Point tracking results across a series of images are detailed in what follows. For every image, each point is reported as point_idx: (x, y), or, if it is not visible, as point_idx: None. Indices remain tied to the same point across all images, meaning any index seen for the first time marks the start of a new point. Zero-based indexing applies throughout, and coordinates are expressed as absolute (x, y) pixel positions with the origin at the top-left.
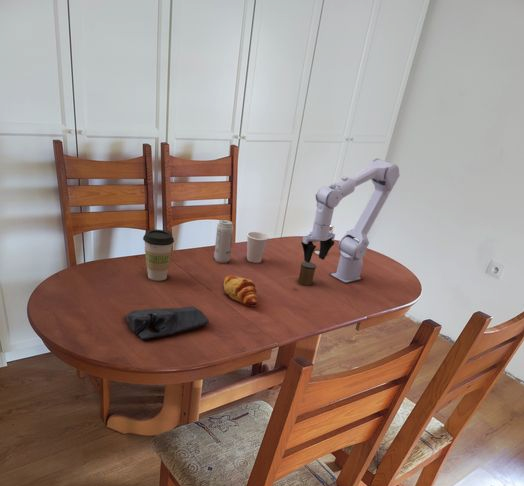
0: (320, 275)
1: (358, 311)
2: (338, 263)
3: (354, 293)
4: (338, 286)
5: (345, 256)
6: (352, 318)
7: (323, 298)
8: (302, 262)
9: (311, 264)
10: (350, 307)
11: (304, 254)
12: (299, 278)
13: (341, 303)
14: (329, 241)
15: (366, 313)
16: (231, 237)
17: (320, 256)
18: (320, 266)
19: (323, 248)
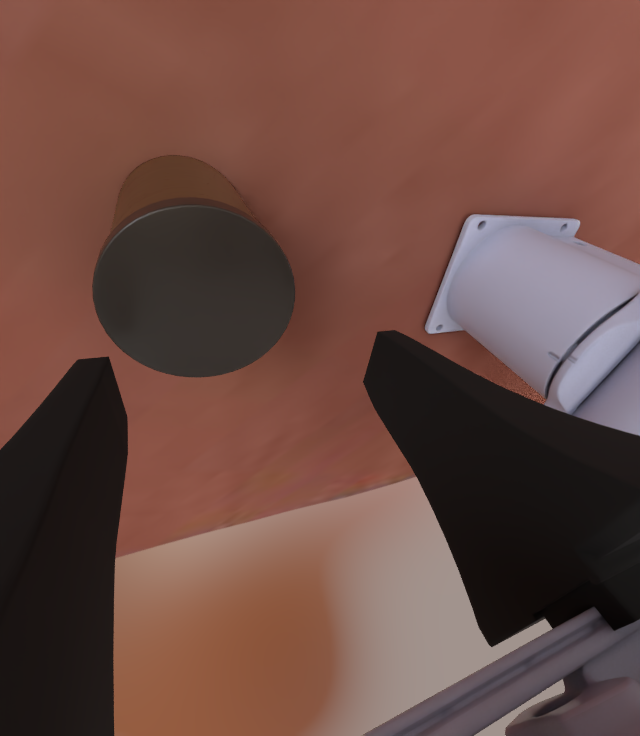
0: (411, 180)
1: (232, 509)
2: (549, 267)
3: (355, 411)
4: (358, 345)
5: (568, 374)
6: (163, 542)
7: (154, 428)
8: (153, 220)
9: (242, 311)
10: (226, 490)
11: (24, 438)
12: (115, 210)
13: (215, 467)
14: (532, 623)
15: (250, 517)
16: None
17: (383, 361)
18: (579, 31)
19: (450, 455)
